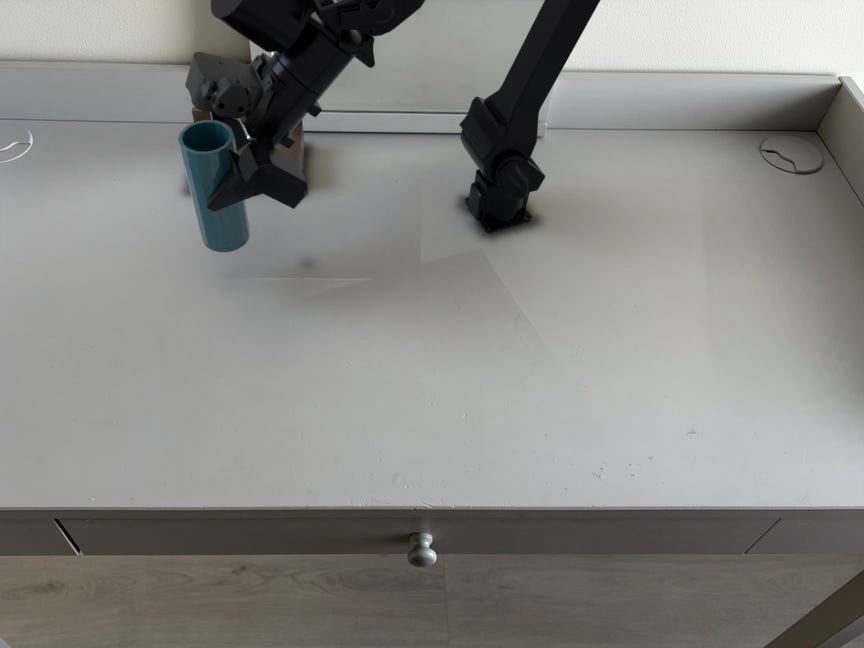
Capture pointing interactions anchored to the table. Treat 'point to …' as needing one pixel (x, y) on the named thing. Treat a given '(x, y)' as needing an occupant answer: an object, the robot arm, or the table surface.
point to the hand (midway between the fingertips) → (203, 191)
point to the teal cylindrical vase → (212, 183)
